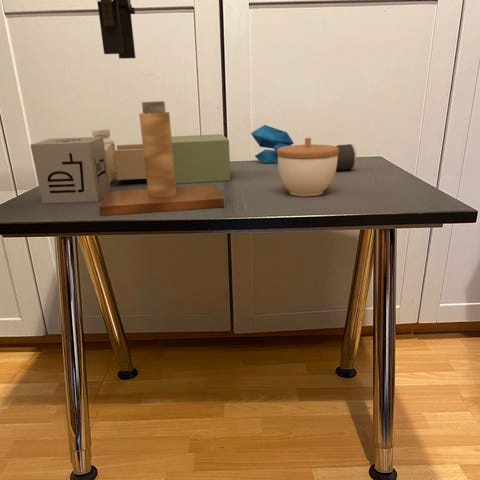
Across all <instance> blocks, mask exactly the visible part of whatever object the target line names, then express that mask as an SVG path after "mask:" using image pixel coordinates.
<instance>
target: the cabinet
mask: <svg viewBox="0 0 480 480" xmlns="http://www.w3.org/2000/svg"><path fill="white" fill-rule="evenodd" d="M171 137H172V148H173V160H174V171H175V182H176V185H180V184H181V185H182V184H193V183H194V184H196V183H197V184H198V183H211V182H212V183H213V182H229V181H231V161H230V160H231V158H230V157H231V155H230V139H228V138H227V137H226V136H225V135H224V134H222V133H217V134H198V135H197V134H195V135H174V136H171Z"/></svg>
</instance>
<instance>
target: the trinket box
mask: <svg viewBox="0 0 480 480" xmlns="http://www.w3.org/2000/svg"><path fill="white" fill-rule="evenodd" d="M336 146H337V145H331V144H330V145H329V144H312V138H311V137H305V138H304V144H292V145H291V146H284V147H280V148H278V149H277V155H278V164H277V169H278V175H279V179H280V181H281V184H282V185H283V186H284V188H286V190H288V192H289V194H290V195H292V196H296V197H316V196H317V197H318V196H320V195H323V194H324V192H325V191H326V190H327V189H328V188H329V186H330V185H332V183H333V181H334V178H335V177H336V172H337V170H336V168H337V160H338V153H339V148H338V147H336Z"/></svg>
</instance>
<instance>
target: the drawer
mask: <svg viewBox="0 0 480 480" xmlns="http://www.w3.org/2000/svg"><path fill="white" fill-rule="evenodd" d="M104 147H105V154H106V161H107V168H108V174H109V181H110V184H111V183H112V180H113V179H114V177H115V175H116V180H117V181H127V180H145V179H146V180H147V178H146V169H145V161H144V152H143V143H132V144H131V143H129V144H117V145H116V149H115V150H113V153H114V160H115V167H116V173H115V169H114V162H113V155H112V148H111V144H105V146H104Z"/></svg>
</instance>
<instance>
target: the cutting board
mask: <svg viewBox="0 0 480 480" xmlns="http://www.w3.org/2000/svg"><path fill="white" fill-rule="evenodd" d="M220 208H225V198H224V196H223V195H222V193H221V191H220V189H219V188H218V186H217V185H216V184H208V185H207V184H206V185H191V186H189V185H188V186H176V195H174V196H170V197H162V198H155V197H150V196H149V195H148V188H141V189H124V190H111V191H106V193H105V195H104V197H103V198H102V199H101V200H100V203H99V205H98V210H99V215H100V216H114V215H128V214H142V213H143V214H144V213H157V212H158V213H160V212H174V211H175V212H176V211H189V210H204V209H220Z"/></svg>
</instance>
